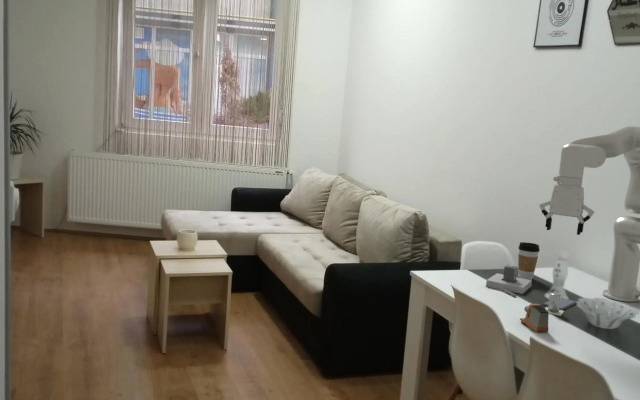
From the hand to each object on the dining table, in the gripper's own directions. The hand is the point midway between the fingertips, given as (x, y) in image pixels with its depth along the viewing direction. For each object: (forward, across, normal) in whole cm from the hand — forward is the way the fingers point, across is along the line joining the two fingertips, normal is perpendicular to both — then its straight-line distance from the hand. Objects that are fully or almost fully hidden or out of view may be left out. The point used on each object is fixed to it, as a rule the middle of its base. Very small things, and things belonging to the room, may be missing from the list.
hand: (563, 231), depth 200 cm
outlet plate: (+28, -21, +21) cm, 41 cm away
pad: (+28, 0, 0) cm, 28 cm away
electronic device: (+29, -2, -21) cm, 36 cm away
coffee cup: (+28, -19, +39) cm, 52 cm away
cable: (+28, -18, +10) cm, 35 cm away
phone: (+29, 0, +11) cm, 31 cm away
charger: (+28, -21, +21) cm, 41 cm away
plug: (+28, 0, 0) cm, 28 cm away
